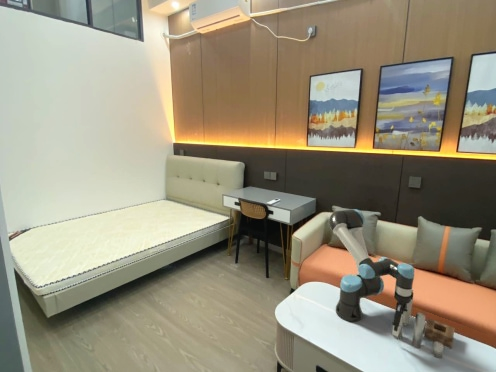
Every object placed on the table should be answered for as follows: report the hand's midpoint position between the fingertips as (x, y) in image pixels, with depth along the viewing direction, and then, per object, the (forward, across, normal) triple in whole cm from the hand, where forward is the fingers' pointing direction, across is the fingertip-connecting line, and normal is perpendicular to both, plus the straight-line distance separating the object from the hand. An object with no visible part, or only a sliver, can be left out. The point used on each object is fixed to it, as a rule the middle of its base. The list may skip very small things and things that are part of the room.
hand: (398, 328), depth 143 cm
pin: (+5, 0, 0) cm, 5 cm away
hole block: (+6, +14, -17) cm, 23 cm away
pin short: (+6, 0, -18) cm, 19 cm away
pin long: (+6, 0, -9) cm, 10 cm away
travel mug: (+6, +15, 0) cm, 16 cm away
